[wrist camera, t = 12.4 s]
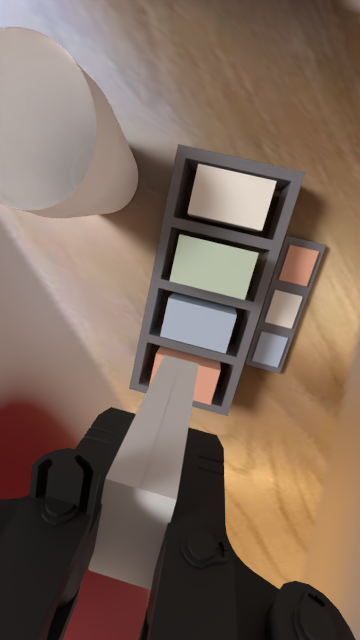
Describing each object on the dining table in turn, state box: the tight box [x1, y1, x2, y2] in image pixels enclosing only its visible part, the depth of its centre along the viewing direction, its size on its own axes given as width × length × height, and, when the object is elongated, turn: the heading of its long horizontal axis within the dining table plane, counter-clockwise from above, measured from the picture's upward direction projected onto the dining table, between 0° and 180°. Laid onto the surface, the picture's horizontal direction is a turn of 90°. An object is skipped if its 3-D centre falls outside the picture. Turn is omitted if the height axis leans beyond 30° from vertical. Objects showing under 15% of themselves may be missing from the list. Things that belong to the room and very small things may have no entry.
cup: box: [0, 27, 138, 218], centre depth 21 cm, size 9×9×12 cm
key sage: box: [170, 234, 259, 300], centre depth 23 cm, size 4×6×4 cm, turn 77°
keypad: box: [129, 144, 305, 416], centre depth 27 cm, size 22×10×4 cm, turn 167°
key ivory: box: [188, 164, 277, 232], centre depth 24 cm, size 4×6×4 cm, turn 77°
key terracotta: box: [149, 346, 221, 405], centre depth 28 cm, size 4×6×4 cm, turn 77°
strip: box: [245, 236, 326, 374], centre depth 27 cm, size 13×4×1 cm, turn 167°
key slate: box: [160, 292, 237, 354], centre depth 26 cm, size 4×6×4 cm, turn 77°
